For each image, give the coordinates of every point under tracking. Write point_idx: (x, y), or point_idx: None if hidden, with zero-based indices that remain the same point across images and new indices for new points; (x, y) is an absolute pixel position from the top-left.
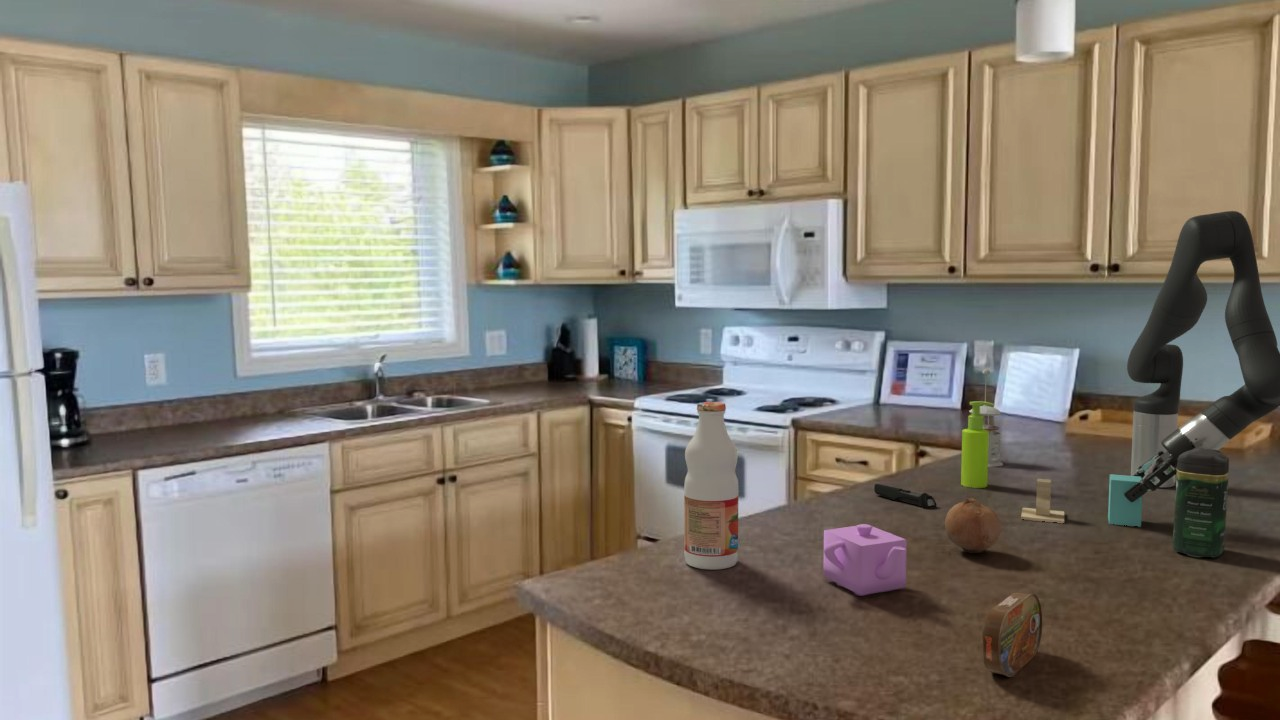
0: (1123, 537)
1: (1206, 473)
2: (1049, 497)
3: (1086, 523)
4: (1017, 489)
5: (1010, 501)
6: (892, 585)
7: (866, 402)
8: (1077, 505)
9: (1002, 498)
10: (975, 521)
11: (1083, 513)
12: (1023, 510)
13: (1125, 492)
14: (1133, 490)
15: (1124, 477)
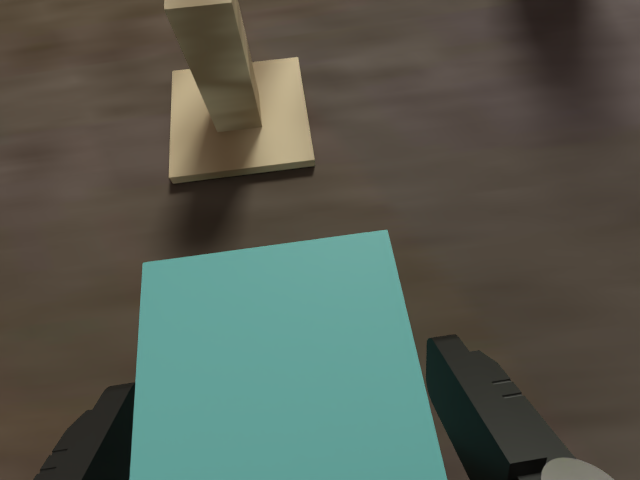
0: (27, 401)
1: None
2: (194, 74)
3: (212, 246)
4: (579, 14)
5: (399, 25)
6: None
7: None
8: (488, 184)
9: (423, 5)
10: None
11: (369, 218)
12: (257, 64)
13: (117, 392)
14: (45, 467)
15: (305, 359)
